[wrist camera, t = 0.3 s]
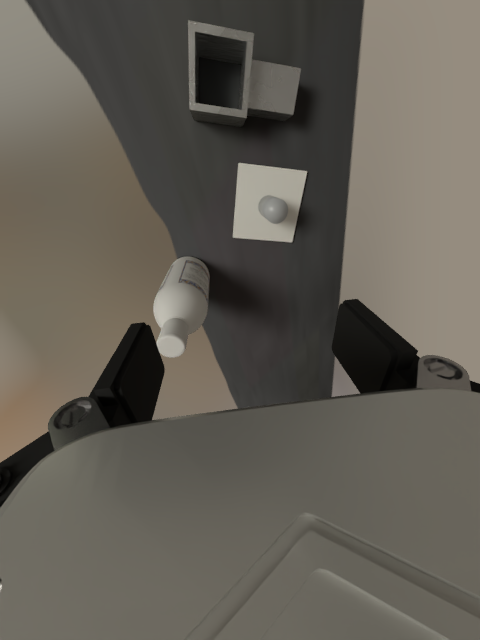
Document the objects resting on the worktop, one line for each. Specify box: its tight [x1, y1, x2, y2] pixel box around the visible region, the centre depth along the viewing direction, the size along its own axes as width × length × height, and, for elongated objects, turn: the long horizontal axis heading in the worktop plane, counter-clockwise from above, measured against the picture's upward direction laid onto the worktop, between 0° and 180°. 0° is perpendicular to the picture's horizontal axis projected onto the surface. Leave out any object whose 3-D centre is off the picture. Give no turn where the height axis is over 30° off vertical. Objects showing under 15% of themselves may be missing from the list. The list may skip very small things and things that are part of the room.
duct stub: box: [233, 163, 307, 242], centre depth 32 cm, size 10×10×6 cm
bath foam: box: [153, 257, 210, 357], centre depth 31 cm, size 7×7×20 cm
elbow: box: [188, 20, 301, 127], centre depth 26 cm, size 12×6×6 cm, turn 84°
